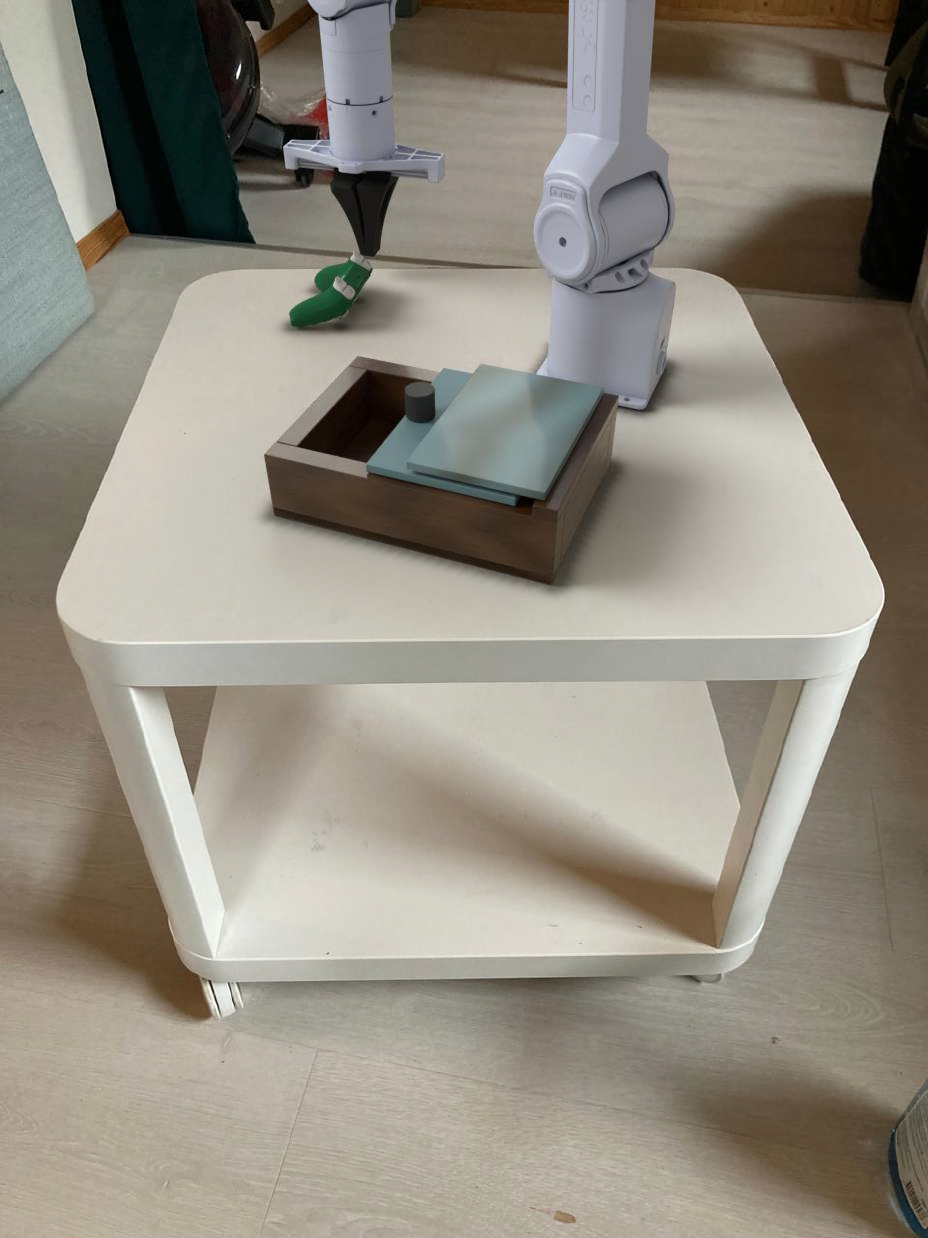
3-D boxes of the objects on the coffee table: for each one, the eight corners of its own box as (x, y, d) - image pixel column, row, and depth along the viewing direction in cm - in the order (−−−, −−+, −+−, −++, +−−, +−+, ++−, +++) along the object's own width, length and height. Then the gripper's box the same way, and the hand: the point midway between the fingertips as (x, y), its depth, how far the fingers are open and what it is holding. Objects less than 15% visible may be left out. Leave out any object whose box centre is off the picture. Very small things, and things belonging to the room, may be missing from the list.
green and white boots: (314, 351, 87) (357, 311, 84) (281, 319, 86) (324, 277, 82) (343, 304, 94) (384, 266, 90) (314, 275, 92) (354, 234, 89)
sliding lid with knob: (576, 401, 68) (579, 367, 66) (515, 506, 59) (516, 470, 58) (443, 374, 71) (443, 341, 69) (366, 471, 62) (363, 436, 60)
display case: (610, 466, 71) (620, 386, 67) (552, 585, 62) (558, 501, 57) (362, 413, 77) (355, 335, 72) (273, 515, 67) (259, 433, 63)
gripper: (262, 102, 82) (283, 260, 92) (427, 116, 80) (431, 277, 89) (294, 79, 87) (310, 231, 97) (450, 91, 85) (452, 246, 94)
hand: (370, 251), depth 93 cm, fingers closed
